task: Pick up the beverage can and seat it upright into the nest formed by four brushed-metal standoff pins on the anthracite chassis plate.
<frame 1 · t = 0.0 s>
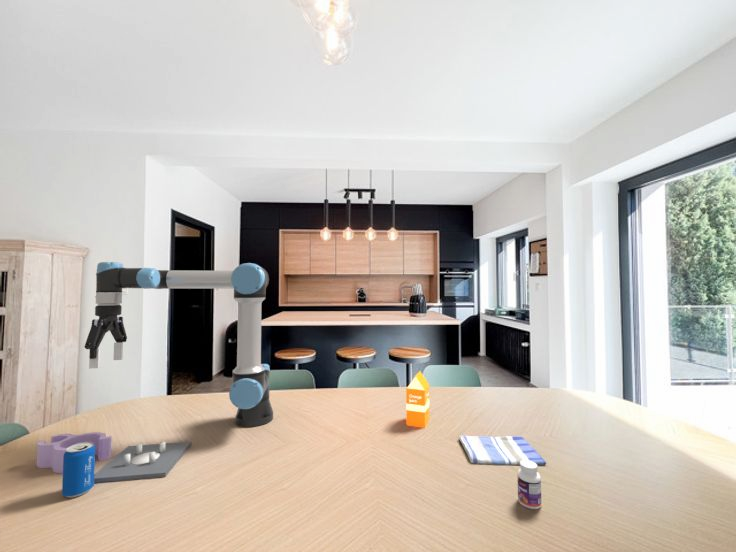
hand: (106, 363, 118), 28 cm above the table, fingers open, 13 cm apart
pill bottle: (529, 503, 83), on the table
beverage can: (78, 492, 89), on the table
clip: (72, 463, 104), on the table
chassis: (145, 462, 104), on the table
dish towel: (498, 453, 110), on the table
orange juice: (418, 422, 135), on the table
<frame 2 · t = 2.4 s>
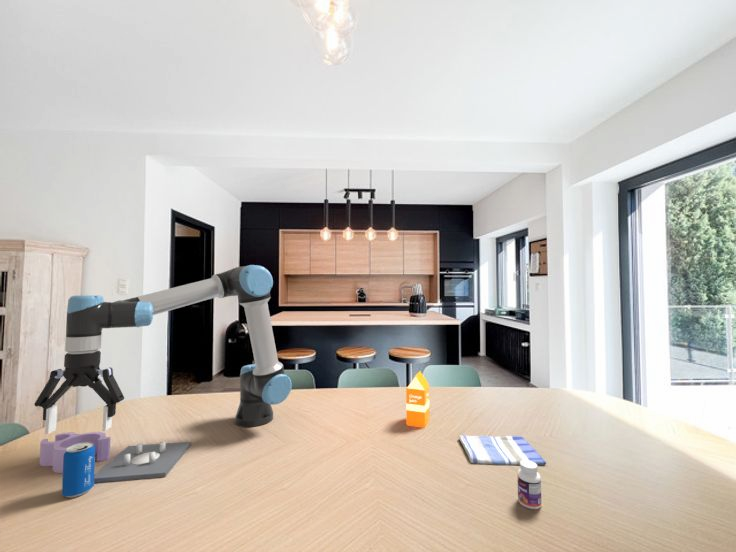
hand: (79, 430, 89), 16 cm above the table, fingers open, 13 cm apart
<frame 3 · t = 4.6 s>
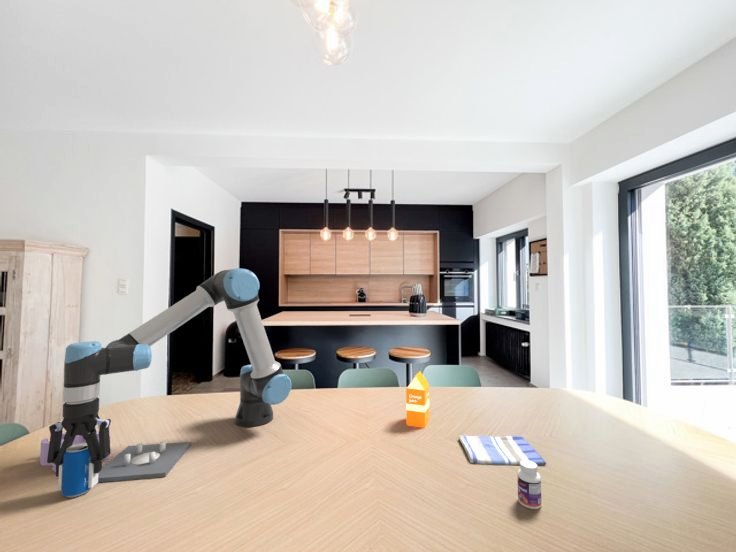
hand: (78, 486, 89), 1 cm above the table, fingers closed on beverage can, 6 cm apart
beverage can: (78, 492, 89), on the table, touching gripper
everything else where it was.
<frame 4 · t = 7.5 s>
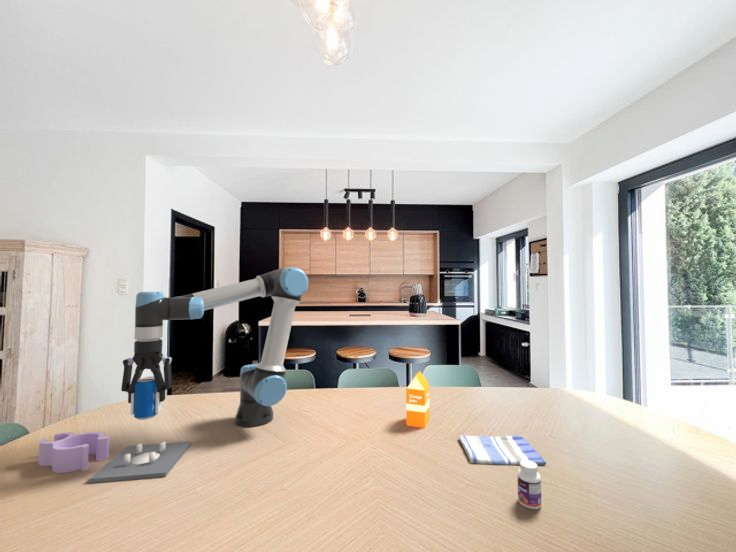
hand: (146, 412, 105), 16 cm above the table, fingers closed on beverage can, 6 cm apart
beverage can: (146, 417, 105), point 14 cm above the table, touching gripper
everything else where it was.
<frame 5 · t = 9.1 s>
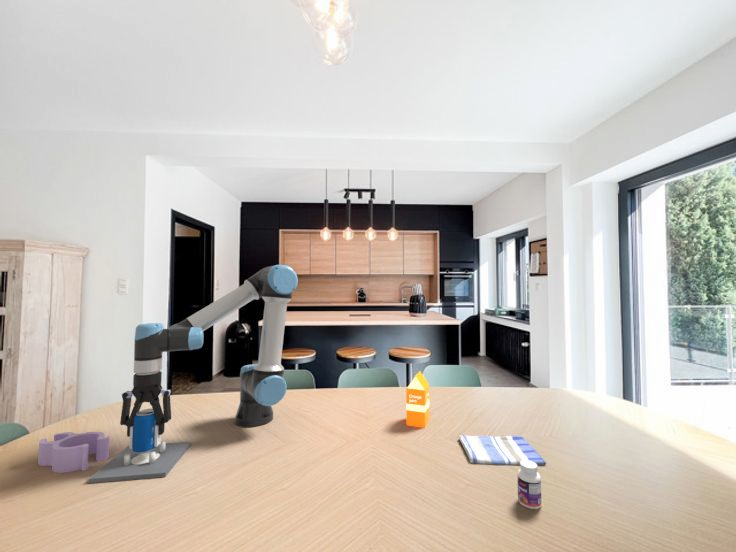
hand: (145, 445, 104), 5 cm above the table, fingers closed on beverage can, 6 cm apart
beverage can: (145, 450, 104), point 4 cm above the table, touching gripper
everything else where it was.
when the fingers open (4 cm above the table, at t = 10.2 s): beverage can drops 1 cm, resting on chassis.
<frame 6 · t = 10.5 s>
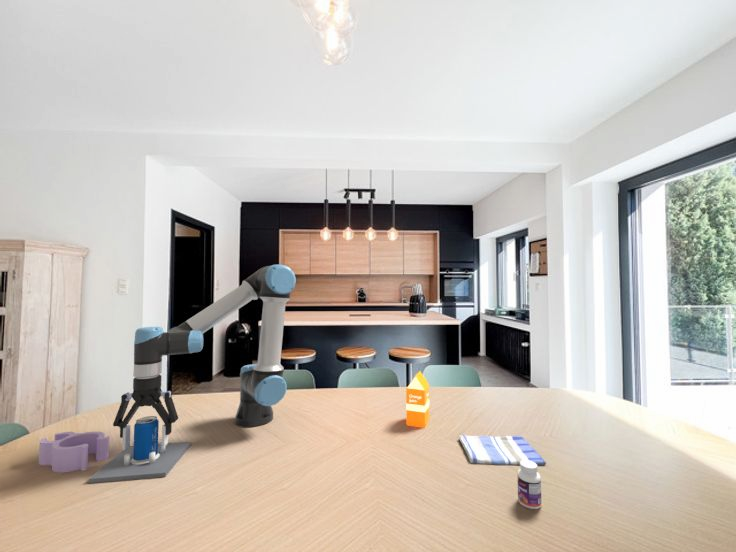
hand: (145, 446, 104), 5 cm above the table, fingers open, 10 cm apart
beverage can: (145, 458, 104), point 1 cm above the table, touching chassis
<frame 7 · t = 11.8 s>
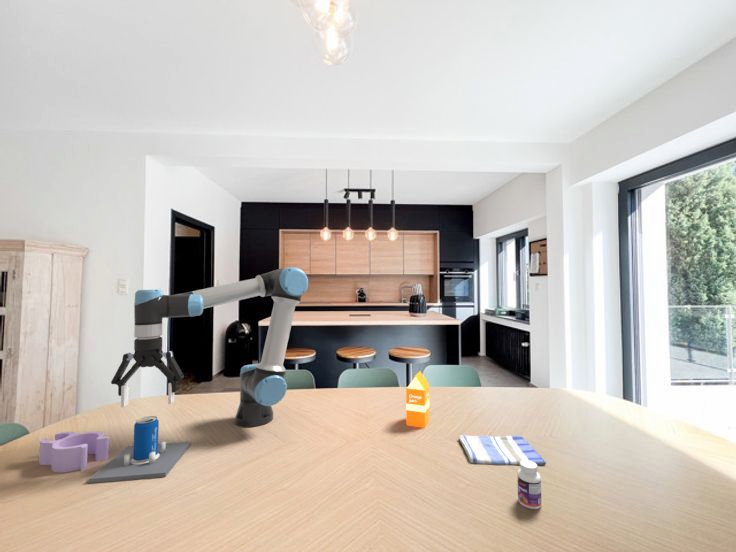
hand: (148, 404, 105), 18 cm above the table, fingers open, 13 cm apart
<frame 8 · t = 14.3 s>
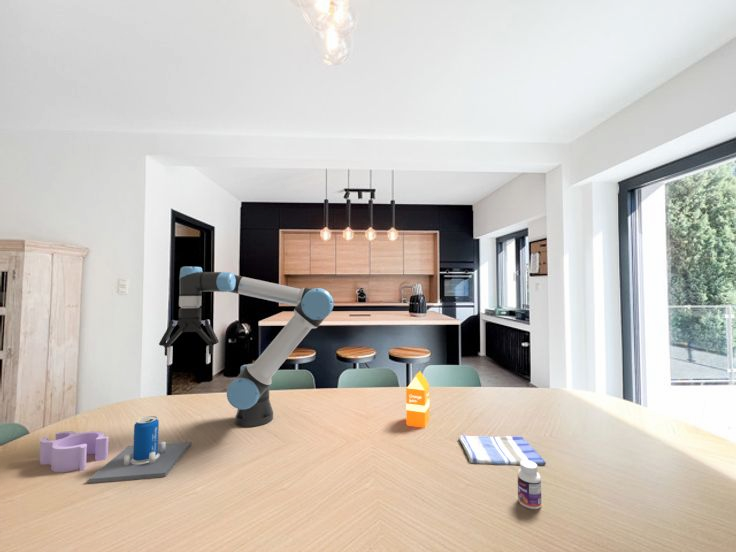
hand: (189, 363, 124), 27 cm above the table, fingers open, 13 cm apart
at the end: beverage can 0.1 cm from the chassis (horizontally); beverage can tilted 0°; beverage can touching chassis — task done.
